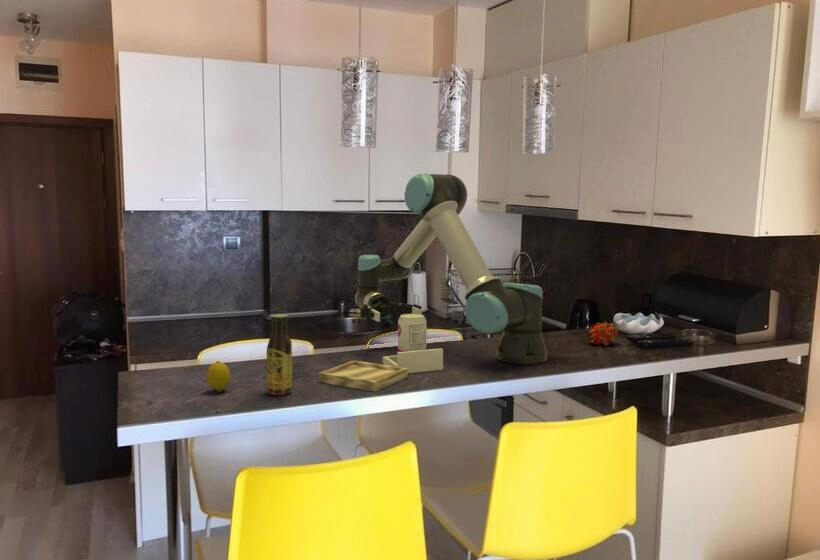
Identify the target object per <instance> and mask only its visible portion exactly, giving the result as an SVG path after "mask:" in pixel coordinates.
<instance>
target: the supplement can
mask: <svg viewBox="0 0 820 560" xmlns="http://www.w3.org/2000/svg"><path fill="white" fill-rule="evenodd" d="M418 350H427V319H426V317H425V315H424V314H423V313H422V314H404V313H402V314H400V315H399V317H398V321H397V352H407V351H418Z"/></svg>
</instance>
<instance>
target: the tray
mask: <svg viewBox="0 0 820 560" xmlns="http://www.w3.org/2000/svg"><path fill="white" fill-rule="evenodd" d="M408 375H409V373H408V368H402V367H395V366H388V365H385V364H381V363H375V362H367V361H360V360H351V361H349V362H345V363H343V364H339V365H337V366H334V367H332V368H329V369H325V370H323V371H320V372H318V383H323V384H328V385H335V386H341V387H345V388H352V389H356V390H364V391H368V392H373V393H375V392H378V391H380V390H382V389H384V388H387V387H389V386H391V385H394V384H395V383H398V382H400V381H403V380H405V379H406V378H408V377H409V376H408Z"/></svg>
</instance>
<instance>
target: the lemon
mask: <svg viewBox="0 0 820 560" xmlns="http://www.w3.org/2000/svg"><path fill="white" fill-rule="evenodd" d="M206 376H207V377H206V379H207V384H208V385H209V387H210V388H212V389H213V390H215V391H217V392H218V393H221V392H222V390H223V389H226V388H227V387H228V385H229V384H230V380H231V372H230V369H229V367H228V366H227V365H226V364H225V363H224V362H221V361H220V360H217V361H216V362H214V363H212V364H211V365H210V366H209V367H208V370H207V374H206ZM220 391H221V392H220Z"/></svg>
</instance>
